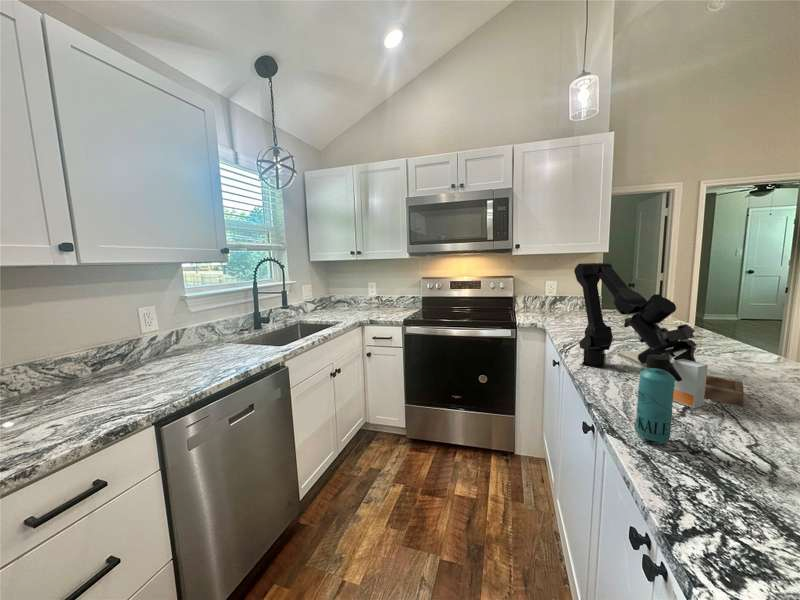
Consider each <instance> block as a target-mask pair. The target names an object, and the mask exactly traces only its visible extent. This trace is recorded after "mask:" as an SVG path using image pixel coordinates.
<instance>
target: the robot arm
mask: <svg viewBox="0 0 800 600" xmlns="http://www.w3.org/2000/svg"><path fill="white" fill-rule="evenodd" d="M573 272H574V275H575V279H576V281H577V282H578V284H579V285H580V286H581V287H582V292H583V300H584V305H585V311H586V312H585V313H586V317H587V318H586V319H587V326H586V327H585V330H584V336H583V338H582V339H581V340H580V341H579V342H578V343H579V344H578V345H579V348H580V349H582V350H583V360H582V363H581V365H582V366H588V367H593V368H597V369H602V368H603V367H604V366H605V365H606V364H607V363H606V362H607V353H606V351H609V350H610V348H611V345H612V343H613V338H614V335H613V333H612V327H611V326H609V325H607V324H606V323H604V319H603V318H604V317H603V312H602V311H603V310H602V306H601V299H600V292H599V285H598V284H599V282H600V280H601V282H603V284H604V285H605V287H606V288H607V289H608V291H609V292H610V293H611V295H612V296H613V298H614V300H613V304H614V306H615V308H616V310H617V311H618V314H621V315H625V316H626V315H629V316H630V315H632V316H631V317H627V318H624V324H623V327H624V328H629V327H631V328H632V329H633V330H634V331H635V333H636V334H637V335H638V336H639V337H640V339H639V342H640V343H645V345H646V346H647V347H648V348H647V349H645V351H643V352H642V353H640V354H639V355H638V360H639V361H640V363H641V364H642V365H643V364H646V361H647V357H648V355H661V356H665V357H668V358H669V359H670V356H671V357H673V358H672V360H674V361H675V360H679V359H686V360H690V361H695V362H697V361H696V358H695V356H694V355H695V351H696V349H697V346H698V345H697V343H695V341H694V340H693V339H694V338H695V335H694V333H695V331H696V330H695V328H692V326H689V324H681V325H677V329H672V330H668V329H667V328H666V327H660V325H659V324H661V323H662V322H664V321H665V320H666V319H667V318H668V317H669V316H671V315H672V314H674V313H675V312H676V310H677V306H676V304H675V303H674V301H673V302H672V301H671V300H670V299H669V298H666V297H663V295H662V294H661V293H660V294H659V293H657V294H653V295H652V296H651V297H650V298H649V299H648V300H646V298H645V297H644V296H643V295H642V294H641V293H639V292H638V291H634V290H633V289H631V288H630V287H629V286H628V285H627V284H626V283H625V281H624V280H622V278H621V277H620V276H619V274H618V273H617V272H616V271H615V269H614V268H613V265H612V264H611V263H609V262H599V263H597V262H586V263H582V262H581V263H578V264H577V265H576V267H574V271H573ZM670 360H671V359H670ZM646 366H648V365H646ZM649 367H651V366H649ZM651 368H654V367H651ZM656 369H661V368H656ZM662 370H665V371H667V372H669V373H670V374H671V375H672V376H673V377H674V378H675V380H676V381H678V382H680V381H682V378H681V377H680V375H679V374H678V372H677V371H676V369H675V368H674V367H673V365H672V364H671V363H670V368H668V369H662Z"/></svg>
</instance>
